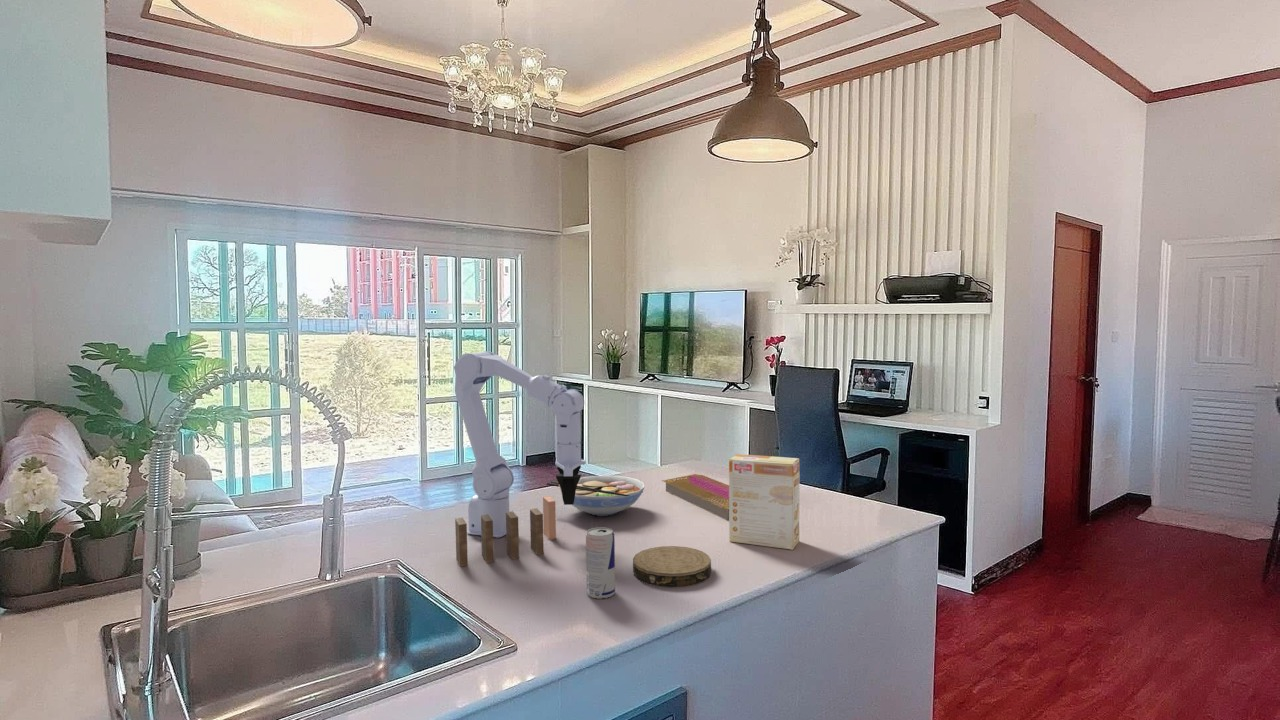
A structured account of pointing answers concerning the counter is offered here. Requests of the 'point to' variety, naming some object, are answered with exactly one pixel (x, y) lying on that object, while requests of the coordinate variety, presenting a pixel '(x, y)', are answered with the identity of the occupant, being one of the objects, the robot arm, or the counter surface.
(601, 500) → the ramen bowl
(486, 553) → the domino
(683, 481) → the brown rectangular box
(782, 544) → the coffeecake box
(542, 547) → the domino
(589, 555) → the energy drink
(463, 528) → the domino
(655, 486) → the counter surface
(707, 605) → the counter surface
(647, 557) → the wooden tree slice
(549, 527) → the orange tan rectangular block
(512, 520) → the domino
